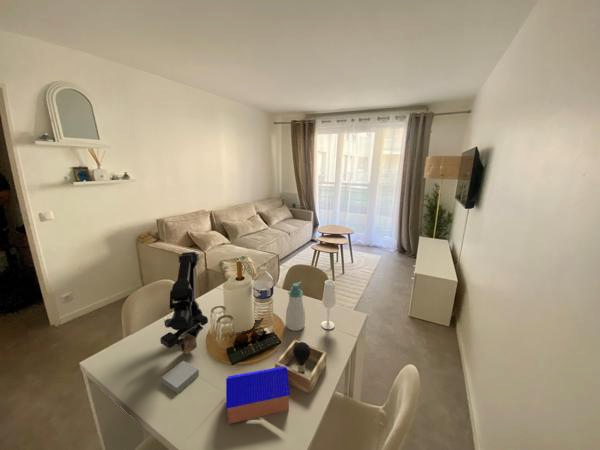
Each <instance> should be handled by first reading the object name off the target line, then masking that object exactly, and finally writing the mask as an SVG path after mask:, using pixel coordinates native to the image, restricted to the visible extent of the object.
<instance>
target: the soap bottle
mask: <svg viewBox="0 0 600 450" xmlns="http://www.w3.org/2000/svg"><path fill="white" fill-rule="evenodd" d="M302 283H303V282H302V281H298V282H295V283H292V287H291V288H290V290H289V291H288V293H287V294H288V304H287V307H286V310H285V325H286V328H288V330H290V331H293V332H294V331H296V332H297V331H300V330H302V329H304V328H305V326H306V325H305V324H306V312H305V307H304V302H303V295H304V291H303V290H302V289H301V287H300V285H301V284H302Z"/></svg>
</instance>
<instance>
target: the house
mask: <svg viewBox="0 0 600 450" xmlns="http://www.w3.org/2000/svg"><path fill="white" fill-rule="evenodd" d="M225 379H226V380H225V389H226V390H225V392H226V394H225V406H226V407H225V409H227V420H228V424H229V425H231V424H235V423H240V422H243V421H247V420H253V419H257V418H261V417H264V416H267V415H268V416H269V415H272V414H277V413H281V412H282V413H283V412H285V411H286V412H287V411H289V410H290V402H289V401H290V396H291V394H290V393H291V391H290V384H289V383H288V375H287V368H286V367H284V366H282V367H277V368H275V367H274V368H273V367H271V368H267V369H261V370H256V371H251V372H250V371H249V372H244V373H239V374H233V375H228V376H227V378H225Z"/></svg>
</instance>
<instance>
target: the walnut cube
mask: <svg viewBox="0 0 600 450" xmlns="http://www.w3.org/2000/svg"><path fill="white" fill-rule="evenodd" d="M181 338H182V339H184V349H183V351H181V350H180V348H179V347H178V350H179V351H180V352H181V353H183V354H184V355H188V354H190V353H191V352H192V351H194V350H195V349H197V348H198V344H197V338H196V337H195V336H193V335H191V334H189V333H188V334H187V333H185V335H182V336H181Z"/></svg>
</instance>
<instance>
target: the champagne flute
mask: <svg viewBox="0 0 600 450" xmlns="http://www.w3.org/2000/svg"><path fill="white" fill-rule="evenodd" d="M335 283H336V282H335V281H334V280H332V279H327V280H325V281H324V286H323V292H322V300H321V303H322V305H323V307H324V308H326V311H327V312H326V320H324V321H322V322H321V327H322V329H326V330H331V329H334V328H335V323H334V322H332V321H331V320H330V309H332V308H334V307H335V305H336V286H335Z"/></svg>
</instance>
